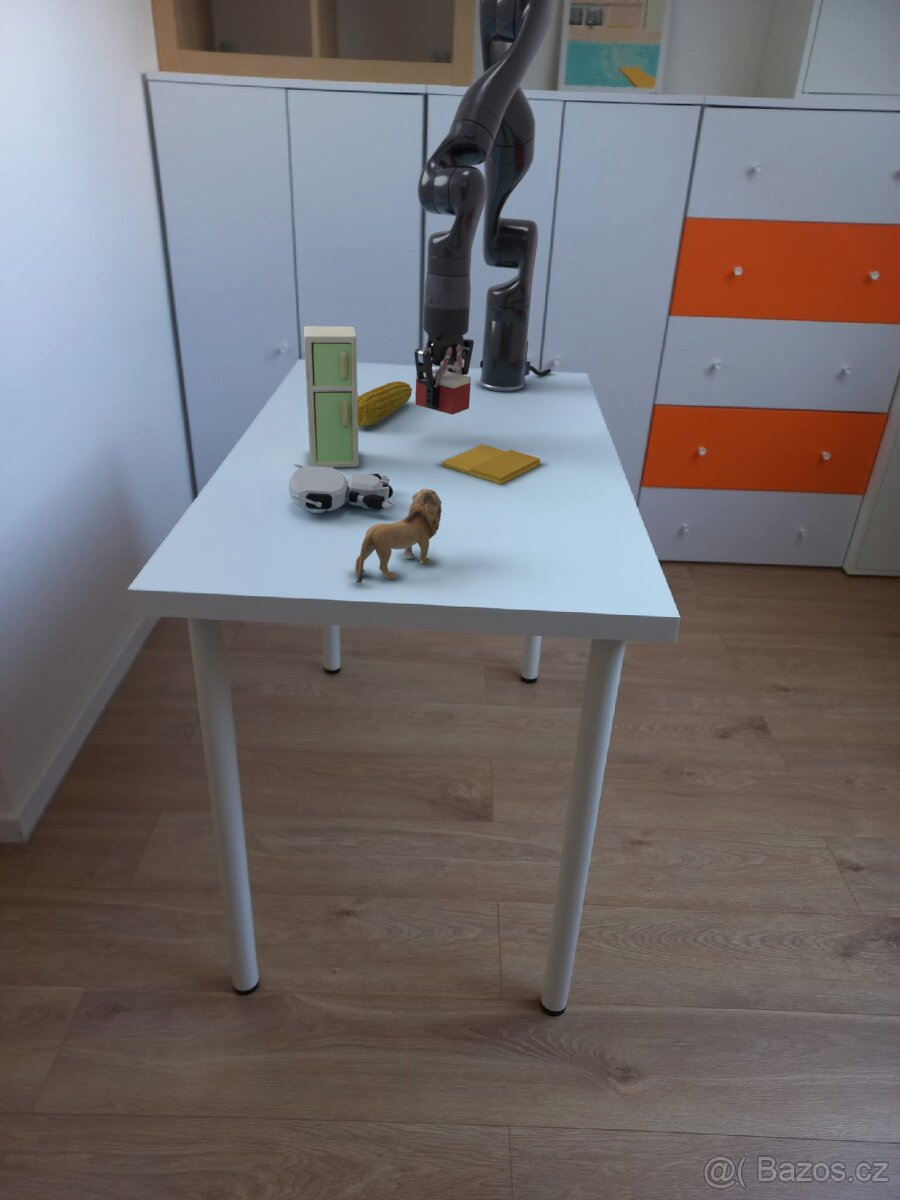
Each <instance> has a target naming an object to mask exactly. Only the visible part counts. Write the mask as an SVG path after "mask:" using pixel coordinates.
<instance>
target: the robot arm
mask: <svg viewBox="0 0 900 1200" xmlns="http://www.w3.org/2000/svg"><path fill="white" fill-rule="evenodd" d="M554 1H555V0H478V7H477V8H478V13H477V14H478V30H479V31H478V34H479V46H480V57H481V69H482V74H481V75H480V76H479V77H478V78H476V79H475V80H474V81H473V82H472V83H471V84H470V86H469V87H468V88H467V89H466V91H465V92H464V94H463V96H462V97H461V99H460V101H459V104H458V106H457V109H456V111H455V114H454V116H453V120H452V122H451V125H450V129H449V130H448V132H447V135H446V136H445V137H444V138H443V140H442V141H441V142H440V143H439V145H438V146H437V148H436V149H435V150H434V152H433V153H432V154H431V156H430V157H429V158H428V160H427V161H426V163H425V164H424V166H423V168H422V170H421V172H420V174H419V178H418V181H417V191H416V192H417V198H418V201H419V204H420V206H421V208H422V209H423V210H424V211H426V212H427V213H429V214H432V215H439V216H442V215H443V216H452V217H454V221H453V224H452V226H451V228H450V229H449V230H443V231H436V232H433V233H431V234H430V235H429V237H428V241H427V250H426V273H425V281H424V288H423V289H424V292H423V295H424V296H423V324H422V329H423V331H424V332H425V333H426V334H427V341H426V343H425V347H424V348H422V349H420V348H416V349H415V350H414V353H413V354H414V361H415V362H414V363H415V371H416V373H417V380H418V383H420V384H423V385H425V386H426V406H427V407H428V408H427V409H429V408H431V409H430V410H433V409H437V408H439V392H440V388H439V385H440V380H441V377H442V375H444V374H445V372H446V371H448V372H452V373H456V374H461V375H465V376H468V374H469V371H470V366H471V362H472V355H473V350H474V344H475V341H474V339H470V338H466V337H464V336H465V335H466V334H468V332H469V328H470V327H469V326H470V311H471V310H470V309H471V293H472V291H471V290H472V288H471V287H472V285H471V266H472V265H471V264H472V250H473V245H474V240H475V236H476V232H477V229H478V224H479V222H480V219H481V216H482V214H483V223H482V241H481V242H482V243H481V244H482V246H481V247H482V249H481V250H482V259H483V261H484V263H485V264H486V266H488V267H491V268H496V269H509V270H517V274H516V275H515V276H514V277H513V278H511V279H509V280H507V281H505V282H501V283H498V284H495V285H492V286H490V287H488V288H487V291H486V295H485V297H486V298H485V310H484V311H485V312H484V328H483V342H482V354H481V355H482V357H481V358H482V359H481V361H480V362H479V369H481V370H480V371H481V372H480V380H479V386H480V387H482V388H484V389H486V390H489V391H495V392H505V393H506V392H517V391H520V390H522V389H523V388H524V385H525V382H526V376H527V377H528V376H529V375H530V371H531V372H532V373H533V374H534V375H536V376H538V377H539V376H540V377H541V376H546V375H548V374H551V373H552V369H551V368H547V369H544V370H541V371H540V370H538V369H537V368H536V367H534V366H532V365H531V361H530V360H528V351H529V349H528V348H529V340H528V335H529V324H530V311H531V303H532V290H533V289H532V288H533V279H534V271H535V263H536V255H537V250H538V241H539V227H538V224H537V223H536V222H535V221H534V220H532V219H524V218H523V219H522V218H510V217H502V216H501V214H502V211H503V210H504V207H505V205H506V204H507V201H508V200H509V198H510V196H511V194H512V193H513V192H514V191H515V189H516V188H517V187H518V186H519V184H520V183H521V182H522V180H523V179H524V178H525V176H526V175H527V173H528V172H529V170H530V169H531V166H532V164H533V161H534V157H535V147H536V146H535V145H536V144H535V143H536V119H535V115H534V111H533V109H532V107H531V104H530V103H529V99H528V98H527V96H526V95H525V92H524V90H523V88H522V86H521V85H520V84H521V83H522V82H523V79H524V78H525V76H526V74H527V73H528V70H529V69H530V66H531V65H532V63H533V61H534V59H535V57H536V56H537V53H539V51H540V48H541V46H542V44H543V43H544V40H545V38H546V37H547V34H548V30H549V27H550V24H551V22H552V17H553V12H554V4H555V3H554ZM508 44H510V46H509V47H508ZM481 164H483V173H482V171H481V170H480V169H479V168H478V167H476V166H479V165H481ZM434 366H436V367H434ZM423 372H424V373H426V376H425V377H424V373H423ZM434 372H435V373H436V375H435V379H433V373H434Z"/></svg>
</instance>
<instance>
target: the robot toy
mask: <svg viewBox="0 0 900 1200" xmlns="http://www.w3.org/2000/svg"><path fill="white" fill-rule="evenodd" d="M293 466H294V467H295V468H298V469H297V470H295V471H294V472H293V473H292V474H291V476H290V478H289V480H288V494H289V496H290V499H291V500H292V502H293V503H294V504H296V505H297V506H298V507H299V508H301V509H304V510H307V511H309V512H310V513H313V514H322V513H324V512H326V511H327V512H332V511H334V510H338V509H339V508H341V507H342V506H343V505H345V503H346V502H348V503H349V505H351V506H355V507H362V508H363V509H366V510H377V511H382V510H383V509H385V510H392V509H393V508H394V507H395V502H394V501H392V500H389V499H391V498H392V496H393V494H394V489H393V488H392V486H391V485H389V484H390V478H389V477H388V476H387V475H380V473H370V474H351V475H350V476H349V477H346V476H344V474H343V473H342V472H341V471H340V470H338V469H336V468H335V467H334V468H331V467H317V466H311V465H305V466H303V465H301V464H299V463H294V464H293Z"/></svg>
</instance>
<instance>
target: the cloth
mask: <svg viewBox="0 0 900 1200" xmlns="http://www.w3.org/2000/svg"><path fill="white" fill-rule="evenodd" d="M541 464H542V461H541V457H537V456H534V455H530V454H527V453H523V452H519V451H516V450H513V449H509V450H503V449H501V448H500V449H499V448H496V447H493V446H489V445H486V444H480V445H478V446H476V447H473V448H471V449H469V450H466V451H464V452H462V453H459V454H457V455H455V456H452V457H450V458H448V459H446V460H443V461H442V462H441V466H442V467H445V468H448V469H451V470H454V471H457V472H461V473H464V474H467V475H470V476H473V477H477V478H479V479H483V480H485V481H490V482H493V483H495V484H498V485H503V484H506V483H508V482H509V481H511V480H513V479H515V478H518V477H520V476H521V475H523V474H526V473H527V472H529V471H531V470H533V469H535V468H536V467H539V466H541Z"/></svg>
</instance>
